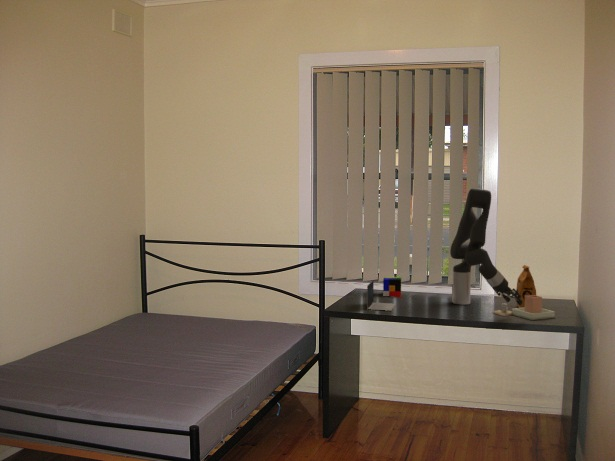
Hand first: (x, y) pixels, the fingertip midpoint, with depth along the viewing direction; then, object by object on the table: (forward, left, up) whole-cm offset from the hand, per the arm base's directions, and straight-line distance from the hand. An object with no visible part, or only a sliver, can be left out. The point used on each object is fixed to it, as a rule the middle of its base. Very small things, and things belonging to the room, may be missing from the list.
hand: (515, 302), depth 306 cm
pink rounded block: (0, +11, -7) cm, 13 cm away
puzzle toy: (-77, -23, -8) cm, 81 cm away
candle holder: (-10, +2, -8) cm, 13 cm away
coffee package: (-16, +21, -8) cm, 28 cm away
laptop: (-49, -45, -8) cm, 68 cm away
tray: (0, +11, -8) cm, 14 cm away
